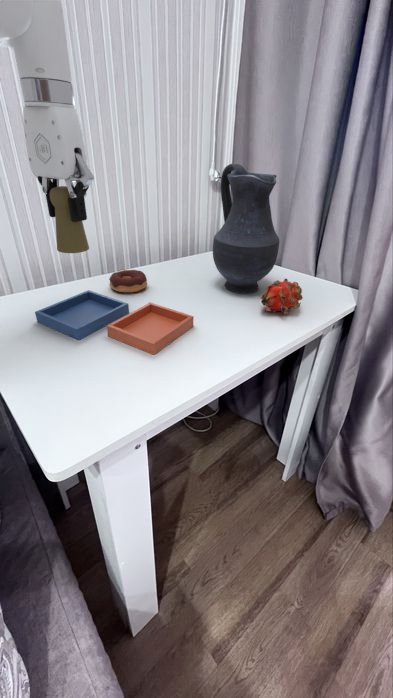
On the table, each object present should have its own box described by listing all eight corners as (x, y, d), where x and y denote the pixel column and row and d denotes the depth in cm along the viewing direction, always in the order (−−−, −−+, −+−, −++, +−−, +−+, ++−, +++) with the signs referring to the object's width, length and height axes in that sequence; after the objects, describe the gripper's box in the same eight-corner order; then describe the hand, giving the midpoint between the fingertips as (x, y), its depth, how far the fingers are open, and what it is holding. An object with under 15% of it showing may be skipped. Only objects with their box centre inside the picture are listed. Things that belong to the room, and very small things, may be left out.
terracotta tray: (153, 355, 63) (153, 344, 62) (107, 336, 68) (106, 325, 67) (193, 326, 73) (193, 316, 72) (150, 311, 78) (150, 302, 77)
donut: (102, 291, 87) (100, 276, 85) (120, 278, 95) (119, 265, 93) (137, 297, 85) (136, 282, 83) (152, 283, 93) (152, 270, 91)
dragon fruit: (299, 312, 85) (262, 328, 80) (282, 285, 87) (245, 299, 82) (318, 295, 77) (278, 312, 73) (298, 266, 79) (259, 281, 75)
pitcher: (233, 304, 83) (248, 170, 67) (192, 277, 98) (196, 162, 82) (284, 293, 91) (308, 169, 75) (239, 269, 106) (251, 162, 90)
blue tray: (78, 340, 66) (76, 329, 65) (37, 322, 72) (34, 311, 71) (129, 313, 77) (128, 303, 76) (89, 299, 83) (88, 289, 81)
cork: (49, 250, 63) (37, 187, 58) (71, 242, 68) (61, 183, 62) (75, 255, 62) (65, 190, 56) (95, 247, 66) (88, 186, 60)
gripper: (-6, 94, 53) (21, 214, 63) (66, 93, 46) (84, 229, 55) (35, 99, 58) (55, 209, 68) (105, 99, 51) (116, 222, 61)
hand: (68, 217), depth 62 cm, fingers closed on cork, 5 cm apart
